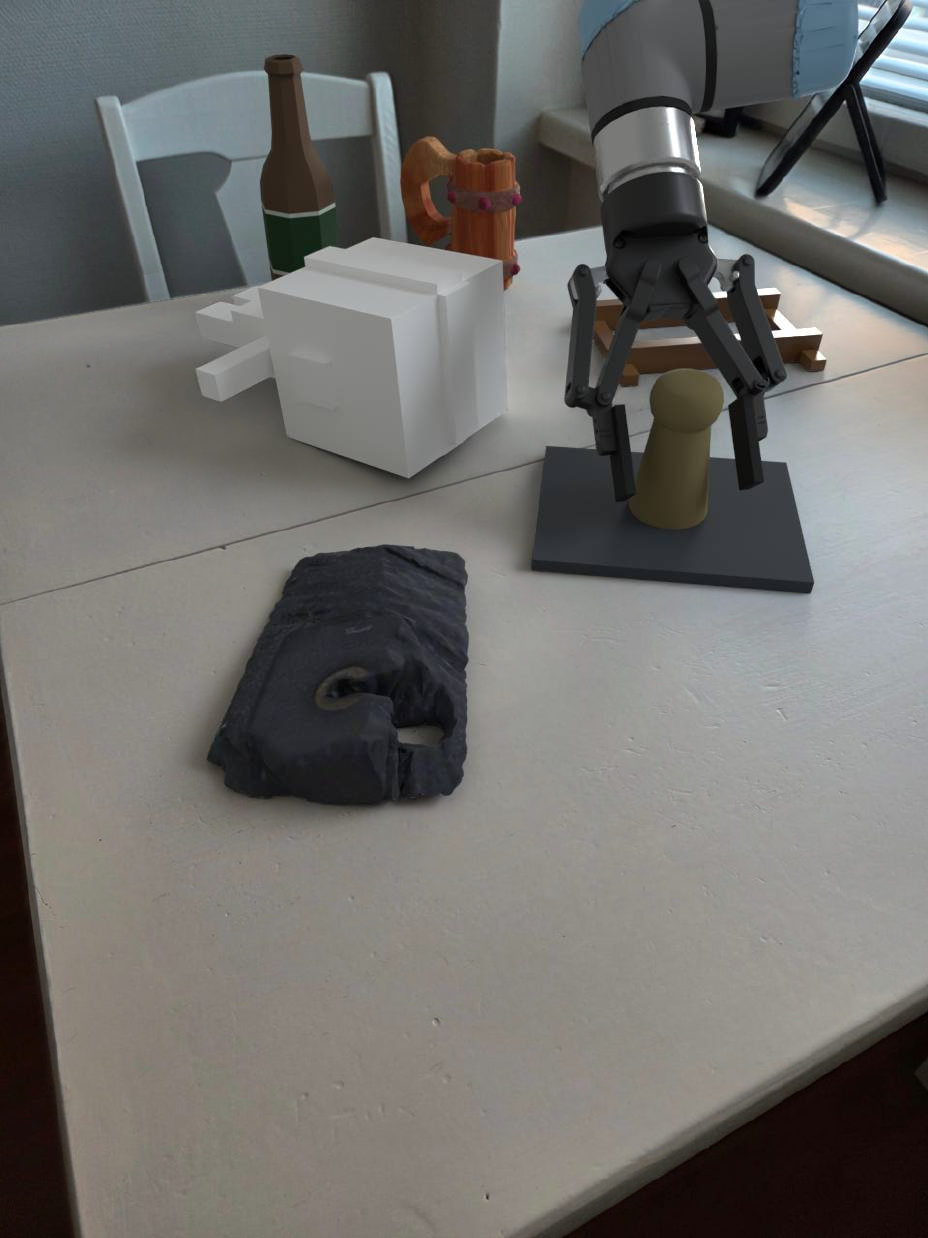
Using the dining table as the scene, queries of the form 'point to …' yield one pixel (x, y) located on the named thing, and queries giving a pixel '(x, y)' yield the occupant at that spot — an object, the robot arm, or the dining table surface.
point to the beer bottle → (293, 176)
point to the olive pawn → (678, 450)
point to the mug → (464, 201)
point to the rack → (691, 350)
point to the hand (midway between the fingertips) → (689, 491)
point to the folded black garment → (354, 681)
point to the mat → (703, 554)
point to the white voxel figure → (371, 350)
